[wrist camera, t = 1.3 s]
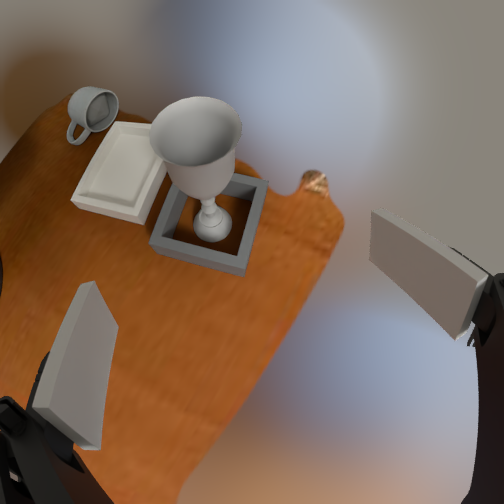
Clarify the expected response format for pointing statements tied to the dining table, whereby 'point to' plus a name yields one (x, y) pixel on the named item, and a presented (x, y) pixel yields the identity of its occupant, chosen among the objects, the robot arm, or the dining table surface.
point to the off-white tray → (122, 175)
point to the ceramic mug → (91, 111)
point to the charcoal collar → (203, 256)
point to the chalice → (199, 156)
